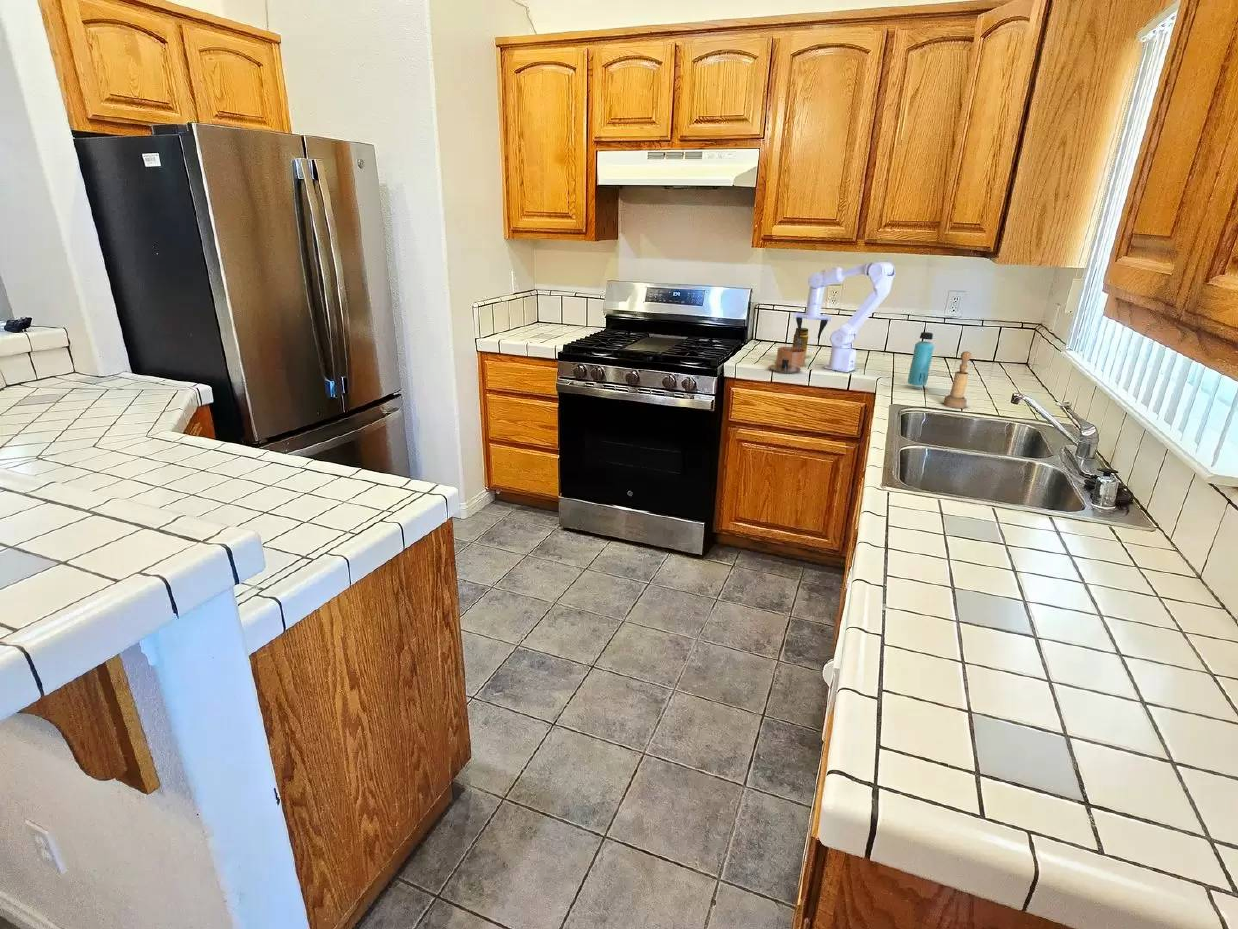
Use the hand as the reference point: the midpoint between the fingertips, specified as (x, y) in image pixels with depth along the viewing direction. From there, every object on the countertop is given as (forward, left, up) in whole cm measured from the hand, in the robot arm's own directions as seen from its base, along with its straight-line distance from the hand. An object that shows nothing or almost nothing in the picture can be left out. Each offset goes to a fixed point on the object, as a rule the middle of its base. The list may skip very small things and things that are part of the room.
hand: (808, 337), depth 266 cm
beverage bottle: (-48, +5, -11) cm, 49 cm away
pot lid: (-3, +21, -10) cm, 23 cm away
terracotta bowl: (+2, +8, -10) cm, 13 cm away
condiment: (+8, -8, -11) cm, 16 cm away
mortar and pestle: (-66, +19, -11) cm, 69 cm away
